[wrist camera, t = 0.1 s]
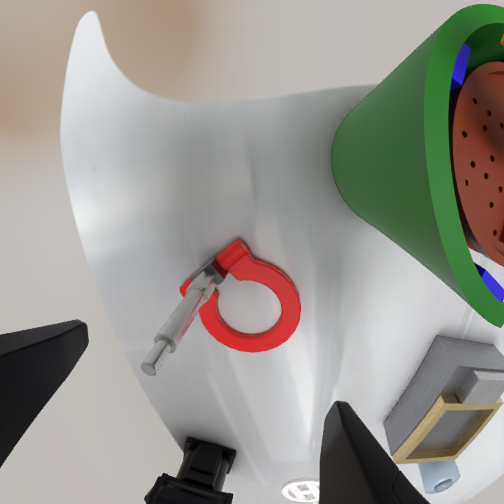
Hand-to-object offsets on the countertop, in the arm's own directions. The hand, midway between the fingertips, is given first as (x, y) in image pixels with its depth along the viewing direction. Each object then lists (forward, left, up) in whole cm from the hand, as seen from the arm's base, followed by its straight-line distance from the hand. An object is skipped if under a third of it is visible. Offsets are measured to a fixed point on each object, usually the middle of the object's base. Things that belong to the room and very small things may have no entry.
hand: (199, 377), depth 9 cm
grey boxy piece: (-11, -22, -15) cm, 29 cm away
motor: (+10, -8, -15) cm, 19 cm away
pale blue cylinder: (-20, -29, -15) cm, 38 cm away
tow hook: (-4, 0, -15) cm, 16 cm away
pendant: (-34, -16, -15) cm, 41 cm away
